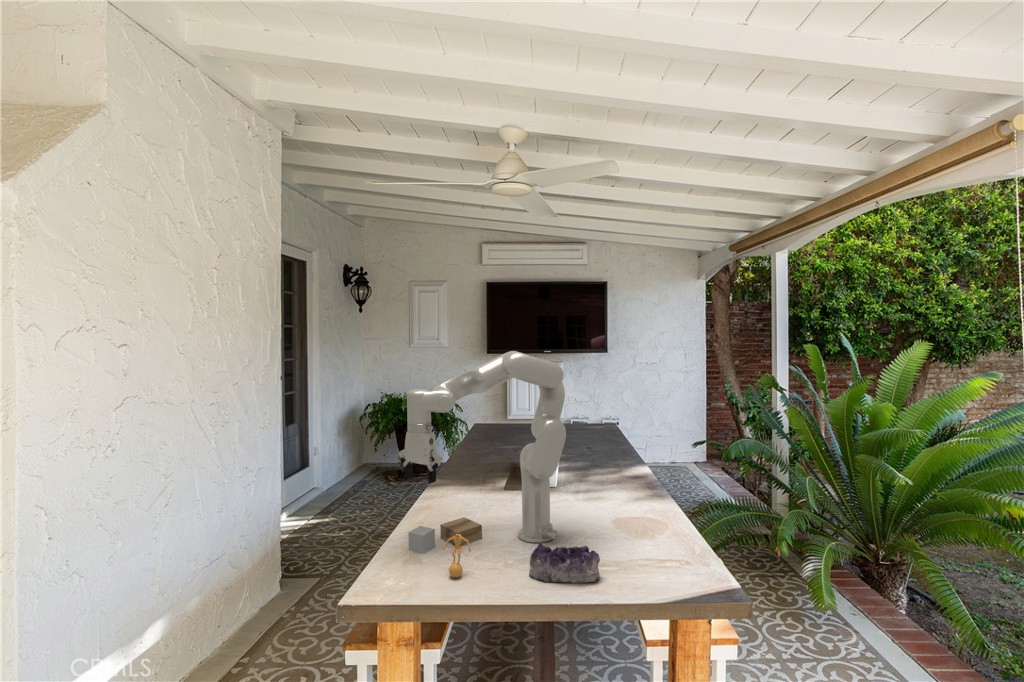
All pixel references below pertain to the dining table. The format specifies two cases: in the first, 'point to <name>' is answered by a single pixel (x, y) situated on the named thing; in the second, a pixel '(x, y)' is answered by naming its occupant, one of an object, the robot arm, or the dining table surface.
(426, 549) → the slate block
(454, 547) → the figurine
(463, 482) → the dining table surface
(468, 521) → the walnut block
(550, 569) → the geode
